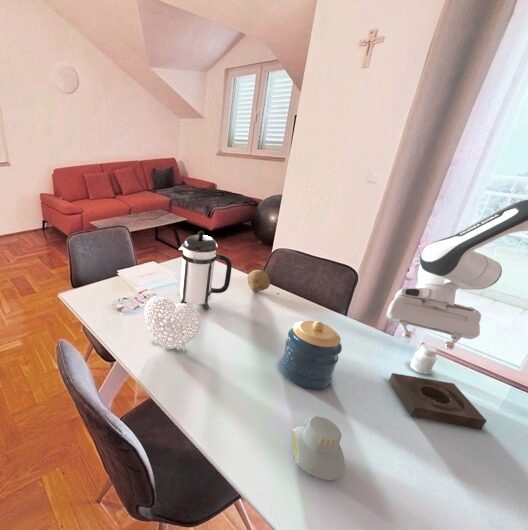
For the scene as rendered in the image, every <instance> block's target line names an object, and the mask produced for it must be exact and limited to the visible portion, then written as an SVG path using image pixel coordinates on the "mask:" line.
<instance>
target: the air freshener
mask: <svg viewBox="0 0 528 530" xmlns="http://www.w3.org/2000/svg"><path fill="white" fill-rule="evenodd" d="M341 439H342V433H341V430H340V428H339V427H338V426H337V424H335V423H334V422H333V421H331V420H329V419H328V418H325V417H324V416H323V417H322V416H312V417H310V418H309V419H308V421H307V424H306V425H300V426H296V427H295V428H293V429H292V430H291V432H290V444H291V453H292V455H293V459H294V462H295V463H296V465H297V466H298V467H299V468H300V469H301V470H303V471H304V472H306V473H307V474H309V475H310V476H312V477H315V478H317V479H320V480H324V481H333V480H338V479H339V478H341V477H343V476H344V475H345V473H346V463H345V457H344V453H343V449H342V447H341V445H340V442H341Z"/></svg>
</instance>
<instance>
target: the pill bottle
mask: <svg viewBox="0 0 528 530" xmlns="http://www.w3.org/2000/svg"><path fill="white" fill-rule="evenodd" d="M438 353H439V350H438V349H437V347H435V346H433V345H431V344H422V345H421V346H420V348H419V349H417V350H416V352H415V353H414V356H413V358H412V360H411V361H410V362H411V363H410V368H411V369H412V370H413V371H415V372H416V373H419V374H422V375H429V374H430V373H431V371H432V369H433V367H434V365H435V363H436V361H437V354H438Z"/></svg>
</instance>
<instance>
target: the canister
mask: <svg viewBox="0 0 528 530" xmlns="http://www.w3.org/2000/svg"><path fill="white" fill-rule="evenodd" d="M287 337H288V338H287V339H286V341H285V347H284V350H283V354H282V356H281V360H280V369H281V371H282V373H283V375H284V376H285V377H286V378H287V379H289V380H290V381H291V382H293V383H294V384H296V385H298V386H300V387H304V388H307V389H311V390H320V389H324V388H326V387H328V385H329V384H331V382H332V379H333V375H334V371H335V368H336V365H337V363H338V361H339V354H341V353H342V350H343V346H342V343H341V336H340V334H339V333H338V332H337V331H336V330H334V329H333V328H332V327H330V326H329V325H328V324H325V323H323V322H322V321H320V320H301V321H297V322H295V323H294V324H293V326H292V328H290V329H289V330H288V331H287Z"/></svg>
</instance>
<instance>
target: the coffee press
mask: <svg viewBox="0 0 528 530" xmlns="http://www.w3.org/2000/svg"><path fill="white" fill-rule="evenodd" d="M217 250H218V244H217V241H216V240H215V239H214V238H213V237H211V236H208V235H205V231H203V230H200V231H198V232H197V234H194V235H189V236H187V237H186V238H185V239H184V240H183V242H182V244H181V245H180V247H178V251H181V252H182V253H181V254H182V255H181V257H182V262H181V263H182V264H181V277H180V287H179V289H180V290H179V296H180V298H181V301H180V302H179V303H184V304H189V305H190V304H191V305H197V306H198V305H199V306H200V305H202V306H203V308H204V310H208V309H209V308H210V305H209V301H210V299H211V295H212V294H222V293H224V292H226V291H227V290H228V288H229V286H230V282H231V275H232V267H233V266H232V261H231V259H230V258H229V257H228V256H226V255H224V254H217ZM216 260H220V261H223V262H225V264H226V271H225V279H224V282H223V286H221V287H220V288H214V287H212V285H213V279H214V277H213V276H214V271H215V269H214V268H215V263H216Z"/></svg>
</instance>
